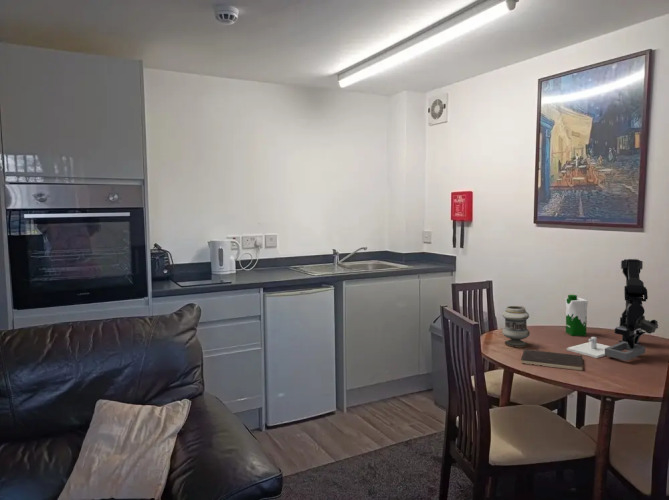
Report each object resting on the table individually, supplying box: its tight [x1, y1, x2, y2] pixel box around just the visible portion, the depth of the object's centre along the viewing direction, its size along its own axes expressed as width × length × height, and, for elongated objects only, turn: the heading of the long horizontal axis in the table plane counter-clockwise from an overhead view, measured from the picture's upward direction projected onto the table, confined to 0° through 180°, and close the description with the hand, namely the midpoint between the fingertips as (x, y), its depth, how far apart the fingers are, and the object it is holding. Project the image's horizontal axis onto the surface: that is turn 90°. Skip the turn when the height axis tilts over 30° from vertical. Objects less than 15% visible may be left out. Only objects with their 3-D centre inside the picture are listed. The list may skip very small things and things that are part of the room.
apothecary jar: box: [502, 305, 531, 348], centre depth 223 cm, size 12×12×18 cm
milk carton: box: [565, 294, 589, 337], centre depth 238 cm, size 9×9×20 cm
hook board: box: [566, 336, 611, 359], centre depth 211 cm, size 18×14×6 cm
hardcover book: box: [520, 349, 584, 371], centre depth 198 cm, size 16×23×2 cm
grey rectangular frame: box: [605, 341, 646, 362], centre depth 200 cm, size 14×9×3 cm, turn 119°
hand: (633, 347), depth 203 cm, fingers closed on grey rectangular frame, 2 cm apart
